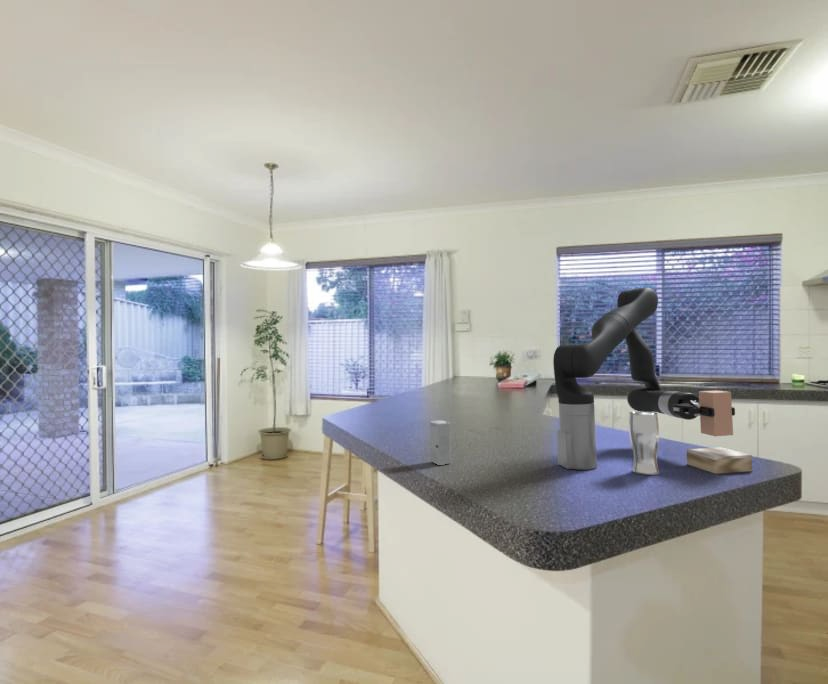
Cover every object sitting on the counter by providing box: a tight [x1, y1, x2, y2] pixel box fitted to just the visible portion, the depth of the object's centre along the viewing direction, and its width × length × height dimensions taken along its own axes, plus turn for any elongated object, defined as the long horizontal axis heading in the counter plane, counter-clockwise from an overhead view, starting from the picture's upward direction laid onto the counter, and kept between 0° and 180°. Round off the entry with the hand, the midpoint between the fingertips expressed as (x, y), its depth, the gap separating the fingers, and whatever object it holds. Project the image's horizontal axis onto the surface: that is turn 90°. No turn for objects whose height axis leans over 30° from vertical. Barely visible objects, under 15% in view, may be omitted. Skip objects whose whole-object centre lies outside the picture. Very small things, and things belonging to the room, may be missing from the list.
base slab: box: [686, 446, 753, 474], centre depth 121 cm, size 10×10×4 cm
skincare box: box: [429, 419, 452, 464], centre depth 137 cm, size 6×4×12 cm
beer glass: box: [628, 411, 660, 476], centre depth 119 cm, size 7×7×15 cm
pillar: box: [698, 389, 734, 437], centre depth 122 cm, size 5×5×11 cm
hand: (723, 412), depth 119 cm, fingers closed on pillar, 5 cm apart
